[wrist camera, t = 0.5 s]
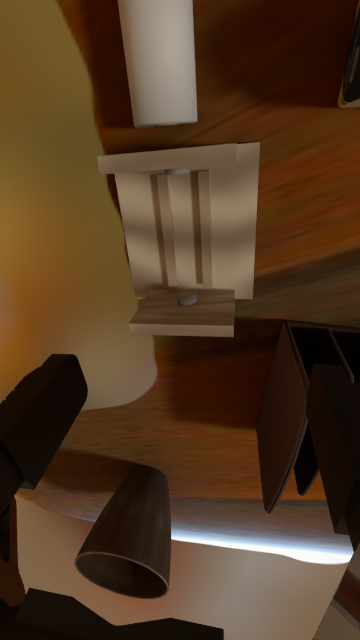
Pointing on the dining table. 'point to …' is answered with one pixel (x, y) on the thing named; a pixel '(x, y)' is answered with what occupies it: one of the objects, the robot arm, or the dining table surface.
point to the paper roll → (160, 61)
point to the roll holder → (188, 234)
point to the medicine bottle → (352, 69)
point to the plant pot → (131, 539)
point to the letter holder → (297, 402)
